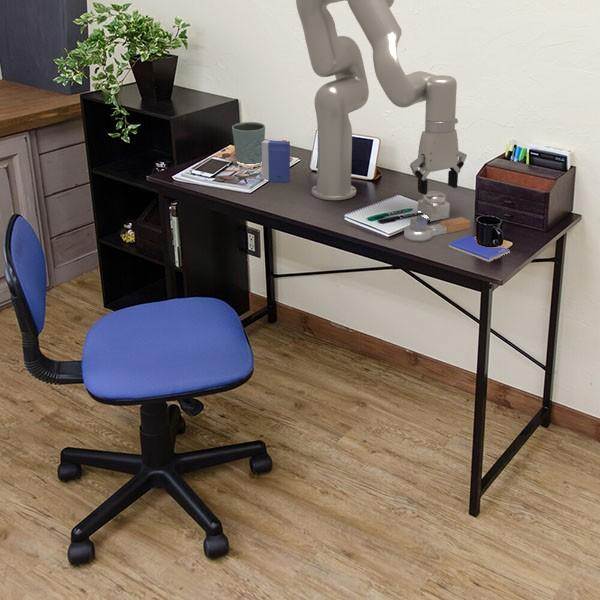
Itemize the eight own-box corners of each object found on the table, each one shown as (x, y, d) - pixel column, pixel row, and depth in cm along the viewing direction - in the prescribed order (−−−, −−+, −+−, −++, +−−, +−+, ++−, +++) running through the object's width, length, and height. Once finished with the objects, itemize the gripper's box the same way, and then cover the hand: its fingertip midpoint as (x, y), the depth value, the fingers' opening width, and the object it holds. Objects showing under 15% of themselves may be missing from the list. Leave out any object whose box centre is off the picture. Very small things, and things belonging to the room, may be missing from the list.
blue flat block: (510, 249, 223) (470, 234, 232) (489, 257, 218) (448, 242, 227) (509, 255, 224) (469, 240, 232) (488, 263, 219) (448, 248, 227)
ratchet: (456, 222, 242) (458, 204, 240) (473, 230, 237) (475, 212, 235) (398, 234, 234) (399, 216, 232) (414, 244, 229) (415, 225, 227)
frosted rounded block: (417, 214, 247) (418, 193, 244) (435, 210, 250) (436, 189, 247) (430, 221, 242) (431, 199, 240) (448, 217, 245) (450, 196, 242)
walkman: (290, 179, 273) (289, 140, 268) (288, 182, 270) (287, 142, 265) (264, 178, 274) (263, 138, 269) (262, 181, 272) (261, 141, 266)
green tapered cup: (265, 169, 282) (264, 130, 277) (232, 169, 282) (231, 130, 276) (266, 158, 291) (265, 121, 286) (233, 159, 291) (232, 121, 286)
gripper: (458, 118, 242) (455, 180, 249) (403, 127, 234) (402, 192, 242) (476, 123, 236) (472, 188, 243) (420, 134, 228) (418, 199, 236)
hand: (437, 190), depth 242 cm, fingers open, 9 cm apart
